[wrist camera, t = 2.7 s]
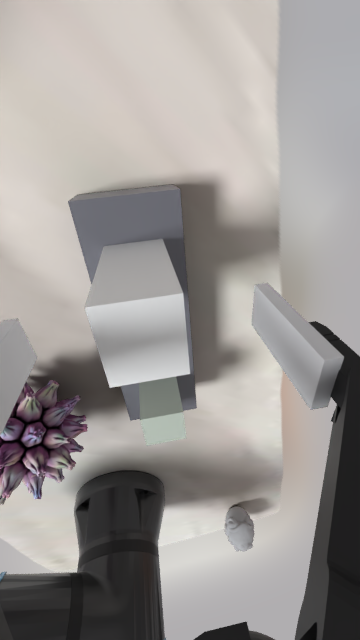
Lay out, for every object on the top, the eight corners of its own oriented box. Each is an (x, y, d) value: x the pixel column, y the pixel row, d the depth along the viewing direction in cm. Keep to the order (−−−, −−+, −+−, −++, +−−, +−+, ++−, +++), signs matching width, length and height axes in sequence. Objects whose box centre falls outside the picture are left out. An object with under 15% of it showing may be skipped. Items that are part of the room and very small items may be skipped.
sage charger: (178, 399, 31) (186, 438, 27) (144, 406, 30) (146, 445, 26) (175, 374, 29) (183, 412, 24) (138, 381, 28) (140, 419, 24)
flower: (70, 433, 37) (47, 536, 27) (-27, 406, 32) (-100, 521, 22) (112, 378, 33) (103, 475, 23) (9, 338, 28) (-60, 439, 18)
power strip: (194, 430, 41) (201, 460, 37) (142, 440, 40) (143, 472, 36) (172, 184, 23) (181, 189, 19) (77, 194, 22) (65, 203, 18)
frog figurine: (218, 518, 58) (227, 558, 52) (222, 502, 55) (233, 544, 49) (244, 514, 59) (256, 553, 53) (250, 498, 55) (264, 538, 50)
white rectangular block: (167, 291, 25) (190, 373, 15) (118, 298, 24) (109, 387, 15) (160, 234, 22) (183, 293, 13) (105, 241, 22) (84, 307, 12)
